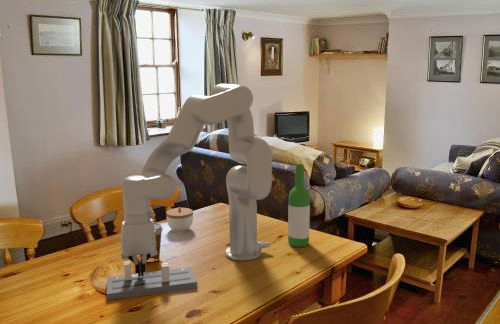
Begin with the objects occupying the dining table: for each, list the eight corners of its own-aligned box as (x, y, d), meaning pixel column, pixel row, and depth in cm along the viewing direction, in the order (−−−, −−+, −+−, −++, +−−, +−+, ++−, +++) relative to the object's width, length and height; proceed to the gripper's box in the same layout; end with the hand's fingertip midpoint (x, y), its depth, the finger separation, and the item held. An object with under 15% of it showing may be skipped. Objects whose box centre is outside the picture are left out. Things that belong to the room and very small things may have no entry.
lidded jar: (191, 234, 186) (191, 211, 184) (164, 234, 186) (163, 211, 184) (195, 225, 196) (194, 203, 194) (169, 225, 196) (168, 203, 194)
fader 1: (131, 276, 145) (130, 260, 144) (132, 279, 142) (130, 263, 141) (124, 277, 144) (123, 261, 143) (125, 280, 142) (124, 264, 141)
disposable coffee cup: (157, 266, 157) (156, 232, 155) (131, 264, 159) (129, 230, 157) (168, 254, 166) (166, 222, 164) (142, 252, 168) (141, 220, 166)
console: (191, 272, 152) (191, 266, 152) (197, 287, 142) (197, 281, 142) (107, 283, 145) (107, 277, 145) (107, 300, 135) (106, 293, 135)
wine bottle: (288, 239, 180) (289, 162, 173) (309, 240, 178) (311, 163, 172) (287, 247, 172) (288, 167, 166) (308, 248, 171) (310, 167, 165)
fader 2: (168, 278, 143) (167, 262, 142) (169, 281, 141) (168, 265, 140) (161, 278, 143) (161, 263, 142) (162, 282, 140) (161, 266, 139)
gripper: (161, 211, 146) (164, 266, 150) (111, 215, 142) (115, 272, 146) (164, 218, 139) (166, 276, 143) (111, 224, 135) (115, 283, 138)
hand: (140, 274), depth 144 cm, fingers closed
